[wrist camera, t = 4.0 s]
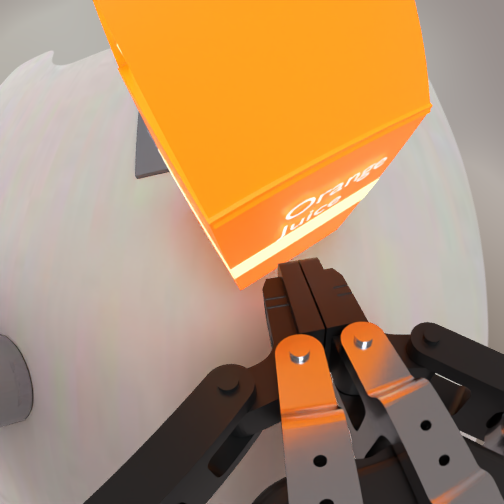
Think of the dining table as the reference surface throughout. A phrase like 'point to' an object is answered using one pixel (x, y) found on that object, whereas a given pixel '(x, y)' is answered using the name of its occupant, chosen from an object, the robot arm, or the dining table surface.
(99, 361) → the dining table surface
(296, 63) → the orange juice
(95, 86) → the dining table surface
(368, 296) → the dining table surface
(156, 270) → the dining table surface
